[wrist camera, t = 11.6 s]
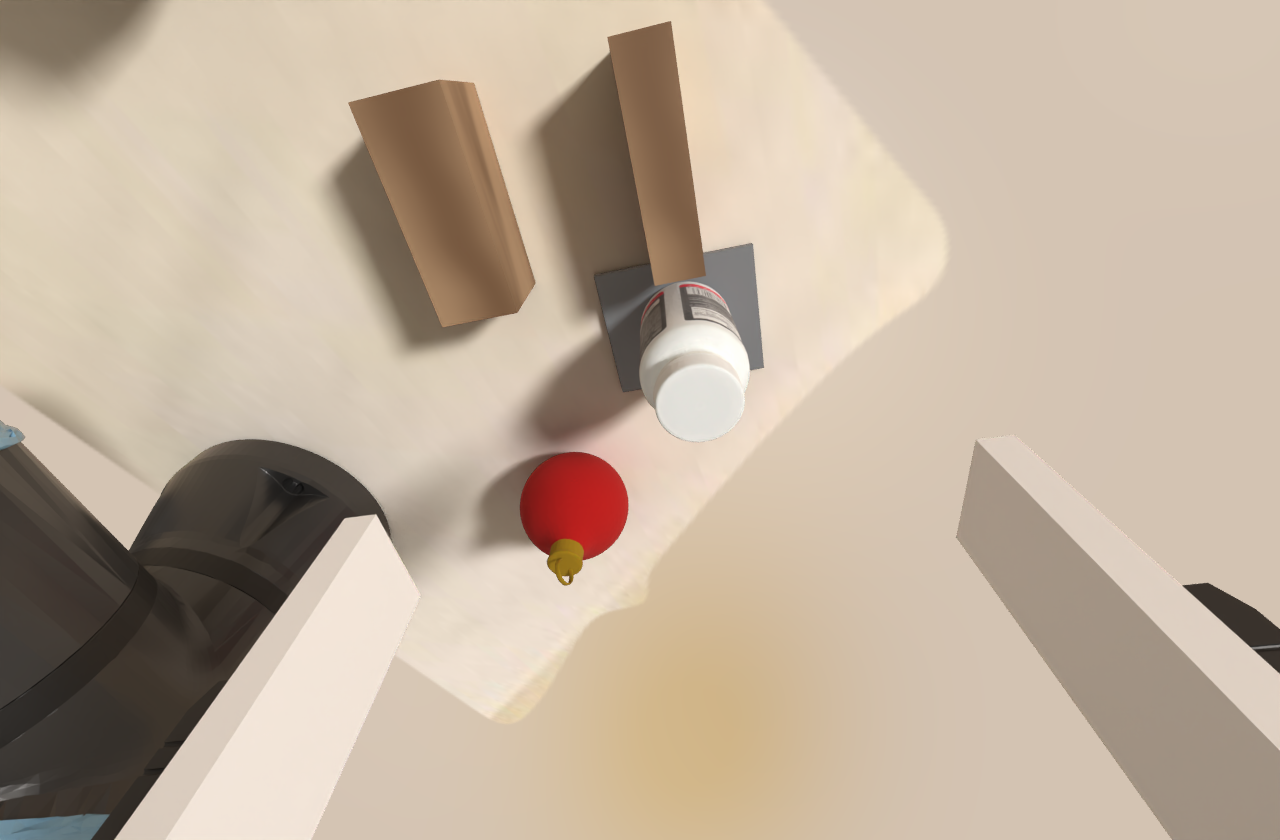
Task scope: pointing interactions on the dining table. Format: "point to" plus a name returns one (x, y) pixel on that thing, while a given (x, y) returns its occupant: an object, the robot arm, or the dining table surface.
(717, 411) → the pill bottle
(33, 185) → the dining table surface
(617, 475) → the christmas ornament
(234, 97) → the dining table surface
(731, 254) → the pad
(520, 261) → the block
